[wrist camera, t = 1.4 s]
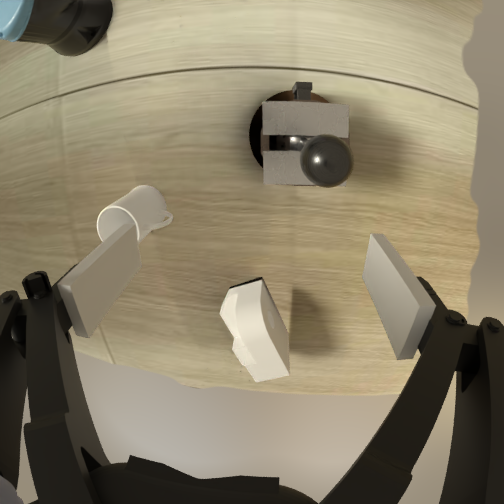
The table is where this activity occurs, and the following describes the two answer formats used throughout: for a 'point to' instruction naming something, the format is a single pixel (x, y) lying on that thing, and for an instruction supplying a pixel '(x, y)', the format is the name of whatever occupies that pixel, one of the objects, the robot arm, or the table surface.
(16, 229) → the table surface
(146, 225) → the mug
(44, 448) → the robot arm
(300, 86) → the wooden tankard
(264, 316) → the tape dispenser
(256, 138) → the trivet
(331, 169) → the plunger
